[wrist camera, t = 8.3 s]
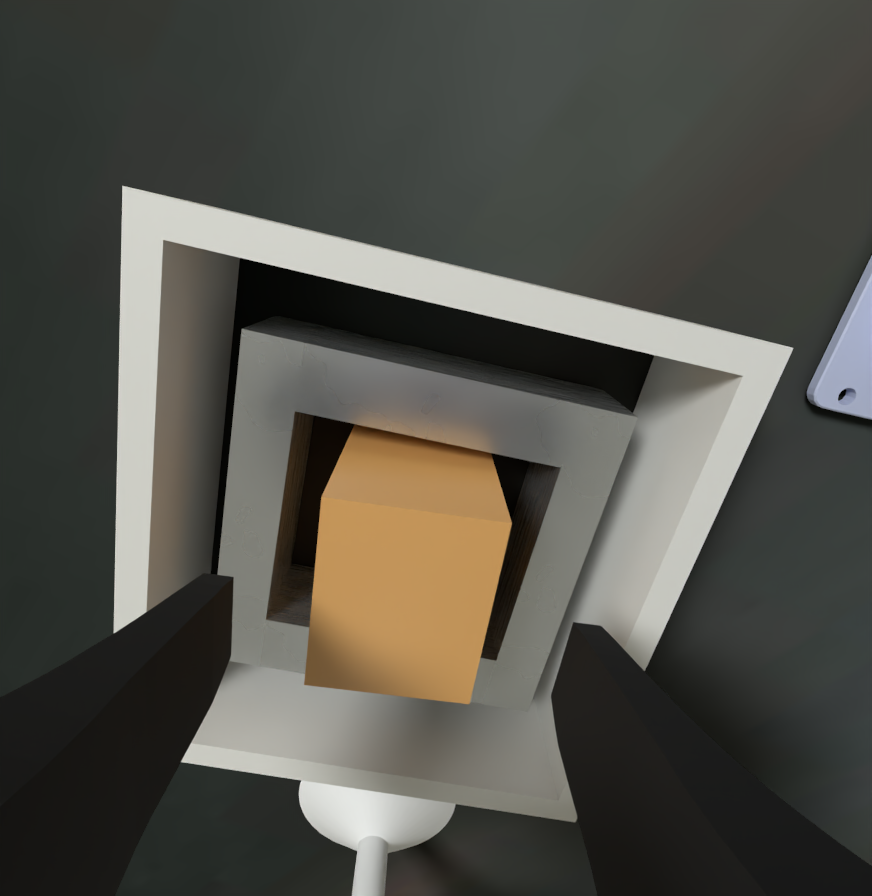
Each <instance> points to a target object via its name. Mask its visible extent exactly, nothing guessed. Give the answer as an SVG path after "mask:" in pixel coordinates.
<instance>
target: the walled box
mask: <svg viewBox="0 0 872 896" xmlns="http://www.w3.org/2000/svg"><path fill="white" fill-rule="evenodd" d="M240 258H243V259H247V260H252V261H256V262H260V263H264V264H269V265H273V266H277V267H281V268H286V269H290V270H294V271H298V272H303V273H307V274H311V275H315V276H320V277H324V278H328V279H332V280H337V281H341V282H345V283H349V284H354V285H358V286H362V287H367V288H371V289H375V290H379V291H384V292H388V293H392V294H396V295H401V296H405V297H409V298H413V299H418V300H422V301H426V302H430V303H435V304H439V305H443V306H447V307H452V308H456V309H460V310H464V311H469V312H473V313H477V314H481V315H486V316H490V317H494V318H499V319H503V320H507V321H511V322H516V323H520V324H524V325H528V326H533V327H537V328H541V329H545V330H550V331H554V332H558V333H562V334H567V335H571V336H575V337H579V338H584V339H588V340H592V341H596V342H601V343H605V344H609V345H614V346H618V347H622V348H626V349H631V350H635V351H639V352H643V353H648V354H652V355H654V358H653V361H652V363H651V366H650V369H649V371H648V374H647V377H646V379H645V382H644V385H643V388H642V390H641V393H640V396H639V398H638V401H637V404H636V406H635V409H634V412H633V414H634V415H636V416H637V417H638V419H637V422H636V425H635V427H634V430H633V433H632V435H631V438H630V441H629V443H628V446H627V449H626V451H625V454H624V457H623V459H622V462H621V465H620V467H619V470H618V473H617V475H616V478H615V481H614V483H613V486H612V489H611V491H610V494H609V497H608V499H607V502H606V505H605V507H604V510H603V513H602V515H601V518H600V520H599V523H598V526H597V528H596V531H595V534H594V536H593V539H592V542H591V544H590V547H589V550H588V552H587V555H586V558H585V560H584V563H583V566H582V568H581V571H580V574H579V576H578V579H577V582H576V584H575V587H574V590H573V592H572V595H571V598H570V600H569V603H568V606H567V608H566V611H565V614H564V616H563V619H562V622H561V624H560V627H559V630H558V632H557V635H556V638H555V640H554V643H553V646H552V648H551V651H550V654H549V656H548V659H547V662H546V664H545V667H544V670H543V672H542V675H541V678H540V680H539V683H538V685H537V688H536V691H535V693H534V696H533V699H532V701H531V704H530V707H529V709H528V712H525V711H520V710H514V709H508V708H502V707H496V706H490V705H484V704H479V703H473V702H470V704H462V703H454V702H445V701H437V700H428V699H419V698H411V697H402V696H394V695H385V694H377V693H368V692H360V691H351V690H343V689H334V688H326V687H317V686H308V685H304V680H305V674H303V673H297V672H291V671H285V670H279V669H273V668H267V667H261V666H256V665H250V664H244V663H238V662H232V661H229V663H228V665H227V668H226V670H225V673H224V676H223V678H222V681H221V683H220V686H219V688H218V691H217V693H216V695H215V698H214V700H213V703H212V705H211V707H210V709H209V710H208V712H207V714H206V716H205V718H204V720H203V722H202V724H201V726H200V727H199V729H198V731H197V733H196V735H195V737H194V739H193V740H192V742H191V744H190V746H189V748H188V750H187V752H186V753H185V755H184V757H183V759H182V761H181V762H185V763H192V764H198V765H205V766H211V767H218V768H224V769H231V770H237V771H244V772H250V773H257V774H263V775H270V776H276V777H283V778H289V779H296V780H302V781H309V782H316V783H322V784H329V785H335V786H342V787H348V788H355V789H361V790H368V791H374V792H381V793H387V794H394V795H400V796H407V797H413V798H420V799H426V800H433V801H440V802H446V803H453V804H459V805H466V806H472V807H479V808H485V809H492V810H498V811H505V812H511V813H518V814H524V815H531V816H537V817H544V818H550V819H557V820H563V821H570V822H576V820H577V814H576V810H575V806H574V803H573V799H572V795H571V792H570V788H569V785H568V781H567V777H566V773H565V770H564V766H563V762H562V758H561V755H560V751H559V747H558V742H557V736H556V729H555V723H554V716H553V708H552V701H551V693H552V690H553V687H554V683H555V680H556V677H557V673H558V670H559V667H560V664H561V660H562V657H563V654H564V651H565V647H566V644H567V641H568V638H569V634H570V631H571V628H572V624H573V622H577V623H584V624H592V625H600V626H602V627H603V628H604V629H605V630H606V631H607V632H608V633H609V634H610V635H611V636H612V637H613V638H614V639H615V640H616V641H617V642H618V643H619V645H620V646H621V647H622V648H623V649H624V650H625V651H626V652H627V653H628V654H629V655H630V656H631V657H632V658H633V660H634V661H635V662H636V663H637V664H638V665H639V666H640V667H641V668H642V669H643V670H644V671H645V670H646V667H647V665H648V663H649V661H650V659H651V657H652V654H653V652H654V650H655V648H656V646H657V644H658V641H659V639H660V637H661V635H662V633H663V631H664V628H665V626H666V624H667V622H668V620H669V618H670V615H671V613H672V611H673V609H674V607H675V604H676V602H677V600H678V598H679V596H680V594H681V591H682V589H683V587H684V585H685V583H686V581H687V578H688V576H689V574H690V572H691V570H692V568H693V565H694V563H695V561H696V559H697V557H698V554H699V552H700V550H701V548H702V546H703V544H704V541H705V539H706V537H707V535H708V533H709V531H710V528H711V526H712V524H713V522H714V520H715V518H716V515H717V513H718V511H719V509H720V507H721V505H722V502H723V500H724V498H725V496H726V494H727V491H728V489H729V487H730V485H731V483H732V481H733V478H734V476H735V474H736V472H737V470H738V468H739V465H740V463H741V461H742V459H743V457H744V455H745V452H746V450H747V448H748V446H749V444H750V441H751V439H752V437H753V435H754V433H755V431H756V428H757V426H758V424H759V422H760V420H761V418H762V415H763V413H764V411H765V409H766V407H767V405H768V402H769V400H770V398H771V396H772V394H773V391H774V389H775V387H776V385H777V383H778V381H779V378H780V376H781V374H782V372H783V370H784V368H785V365H786V363H787V361H788V359H789V357H790V355H791V352H792V350H793V348H791V347H787V346H783V345H779V344H775V343H771V342H767V341H763V340H759V339H756V338H752V337H748V336H744V335H740V334H736V333H732V332H728V331H724V330H720V329H716V328H712V327H708V326H704V325H700V324H696V323H692V322H688V321H684V320H680V319H676V318H672V317H667V316H663V315H659V314H655V313H651V312H647V311H643V310H639V309H634V308H630V307H626V306H622V305H618V304H614V303H610V302H605V301H601V300H597V299H593V298H589V297H585V296H581V295H577V294H572V293H568V292H564V291H560V290H556V289H552V288H548V287H543V286H539V285H535V284H531V283H527V282H523V281H519V280H515V279H510V278H506V277H502V276H498V275H494V274H490V273H486V272H481V271H477V270H473V269H469V268H465V267H461V266H457V265H453V264H448V263H444V262H440V261H436V260H432V259H428V258H424V257H419V256H415V255H411V254H407V253H403V252H399V251H395V250H391V249H386V248H382V247H378V246H374V245H370V244H366V243H362V242H357V241H353V240H349V239H345V238H341V237H337V236H333V235H329V234H324V233H320V232H316V231H312V230H308V229H304V228H300V227H295V226H291V225H287V224H283V223H279V222H275V221H271V220H267V219H262V218H258V217H254V216H250V215H246V214H242V213H238V212H233V211H229V210H225V209H221V208H217V207H213V206H208V205H204V204H200V203H195V202H191V201H186V200H182V199H178V198H173V197H169V196H165V195H160V194H156V193H151V192H147V191H143V190H138V189H134V188H129V187H125V186H123V191H122V242H121V292H120V343H119V394H118V444H117V495H116V546H115V596H114V633H115V632H117V631H119V630H120V629H122V628H123V627H125V626H126V625H128V624H129V623H131V622H132V621H134V620H135V619H137V618H138V617H140V616H141V615H143V614H144V613H146V612H147V611H149V610H150V609H152V608H153V607H155V606H156V605H158V604H159V603H160V602H162V601H163V600H165V599H166V598H168V597H169V596H171V595H172V594H174V593H175V592H176V591H178V590H179V589H181V588H182V587H184V586H185V585H187V584H188V583H190V582H191V581H193V580H194V579H196V578H197V577H199V576H200V575H202V574H203V573H208V574H211V563H212V552H213V542H214V531H215V520H216V509H217V499H218V488H219V477H220V466H221V456H222V445H223V434H224V423H225V413H226V402H227V391H228V380H229V369H230V359H231V348H232V337H233V326H234V316H235V305H236V294H237V283H238V273H239V262H240Z"/></svg>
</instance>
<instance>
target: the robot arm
mask: <svg viewBox="0 0 872 896" xmlns="http://www.w3.org/2000/svg"><path fill="white" fill-rule="evenodd" d="M844 389H846V395H845V396H844V397H843V399H841V400H840V401H838V396H839V394H840V393H841V391H842V390H844ZM807 398H808V400H809V401H810V403H811V404H814V405H816V406H818V407H821V408H823V409H828V410H832V411H836V412H841V413H845V414H849V415H854V416H858V417H862V418H867V419H871V420H872V256H871V258H870V260H869V262H868V264H867V266H866V268H865V270H864V273H863V275H862V277H861V279H860V281H859V283H858V285H857V287H856V289H855V291H854V293H853V295H852V297H851V299H850V302H849V304H848V306H847V308H846V310H845V312H844V314H843V316H842V318H841V320H840V322H839V324H838V326H837V329H836V331H835V333H834V335H833V337H832V339H831V341H830V343H829V345H828V347H827V349H826V351H825V353H824V355H823V358H822V360H821V362H820V364H819V366H818V368H817V370H816V372H815V374H814V376H813V378H812V380H811V382H810V385H809V387H808V390H807ZM233 582H234V577H230V576H223V575H215V574H208V573H203V574H202V575H200V576H199V577H197V578H196V579H194V580H193V581H191V582H190V583H188V584H187V585H185V586H184V587H182V588H181V589H179V590H178V591H176V592H175V593H174V594H172V595H171V596H169V597H168V598H166V599H165V600H163V601H162V602H160V603H159V604H158V605H156V606H155V607H153V608H152V609H150V610H149V611H147V612H146V613H144V614H143V615H141V616H140V617H138V618H137V619H135V620H134V621H132V622H131V623H129V624H128V625H126V626H125V627H123V628H122V629H120V630H119V631H117V632H115V633H114V634H112V635H111V636H109V637H107V638H106V639H104V640H102V641H101V642H99V643H97V644H96V645H94V646H92V647H91V648H89V649H87V650H86V651H84V652H82V653H81V654H79V655H78V656H76V657H74V658H73V659H71V660H69V661H68V662H66V663H64V664H62V665H61V666H59V667H57V668H55V669H54V670H52V671H50V672H48V673H46V674H44V675H43V676H41V677H39V678H37V679H35V680H33V681H32V682H30V683H28V684H26V685H24V686H22V687H20V688H18V689H16V690H14V691H12V692H10V693H8V694H6V695H4V696H2V697H0V896H115V894H116V892H117V889H118V887H119V885H120V882H121V880H122V878H123V876H124V873H125V871H126V869H127V867H128V864H129V862H130V860H131V857H132V855H133V853H134V851H135V848H136V846H137V844H138V842H139V840H140V838H141V836H142V834H143V832H144V830H145V828H146V826H147V824H148V822H149V820H150V818H151V816H152V814H153V812H154V810H155V809H156V807H157V805H158V803H159V801H160V799H161V798H162V796H163V794H164V792H165V790H166V788H167V786H168V785H169V783H170V781H171V779H172V777H173V775H174V774H175V772H176V770H177V768H178V766H179V764H180V763H181V761H182V759H183V757H184V755H185V753H186V752H187V750H188V748H189V746H190V744H191V742H192V740H193V739H194V737H195V735H196V733H197V731H198V729H199V727H200V726H201V724H202V722H203V720H204V718H205V716H206V714H207V712H208V710H209V709H210V707H211V705H212V703H213V700H214V698H215V695H216V693H217V691H218V688H219V686H220V683H221V681H222V678H223V676H224V673H225V670H226V668H227V665H228V663H229V660H230V658H231V646H232V614H233ZM551 701H552V708H553V716H554V723H555V729H556V736H557V742H558V747H559V751H560V755H561V758H562V762H563V766H564V770H565V773H566V777H567V781H568V785H569V788H570V792H571V795H572V799H573V803H574V806H575V810H576V814H577V817H578V821H579V825H580V828H581V832H582V835H583V839H584V843H585V846H586V850H587V854H588V857H589V861H590V865H591V869H592V873H593V877H594V882H595V886H596V890H597V895H598V896H872V866H871V865H869V864H868V863H866V862H865V861H864V860H862V859H861V858H859V857H858V856H857V855H855V854H854V853H852V852H851V851H849V850H848V849H847V848H845V847H844V846H842V845H841V844H840V843H838V842H837V841H836V840H834V839H833V838H832V837H830V836H829V835H828V834H826V833H825V832H824V831H822V830H821V829H820V828H818V827H817V826H816V825H814V824H813V823H812V822H810V821H809V820H808V819H806V818H805V817H804V816H802V815H801V814H800V813H798V812H797V811H796V810H795V809H793V808H792V807H791V806H790V805H788V804H787V803H786V802H784V801H783V800H782V799H781V798H779V797H778V796H777V795H776V794H775V793H773V792H772V791H771V790H770V789H769V788H767V787H766V786H765V785H764V784H763V783H761V782H760V781H759V780H758V779H757V778H755V777H754V776H753V775H752V774H751V773H750V772H748V771H747V770H746V769H745V768H744V767H742V766H741V765H740V764H739V763H738V762H737V761H736V760H734V759H733V758H732V757H731V756H730V755H729V754H728V753H727V752H725V751H724V750H723V749H722V748H721V747H720V746H719V745H718V744H717V743H716V742H715V741H714V740H713V739H711V738H710V737H709V736H708V735H707V734H706V733H705V732H704V731H703V730H702V729H701V728H700V727H699V726H698V725H697V724H696V723H695V722H693V721H692V720H691V719H690V718H689V717H688V716H687V715H686V714H685V713H684V712H683V711H682V710H681V709H680V708H679V707H678V706H677V705H676V704H675V703H674V702H673V701H672V700H671V699H670V697H669V696H668V695H667V694H666V693H665V692H664V691H663V690H662V689H661V688H660V687H659V686H658V685H657V684H656V683H655V682H654V681H653V680H652V679H651V678H650V677H649V676H648V675H647V673H646V672H645V671H644V670H643V669H642V668H641V667H640V666H639V665H638V664H637V663H636V662H635V661H634V660H633V658H632V657H631V656H630V655H629V654H628V653H627V652H626V651H625V650H624V649H623V648H622V647H621V646H620V645H619V643H618V642H617V641H616V640H615V639H614V638H613V637H612V636H611V635H610V634H609V633H608V632H607V631H606V630H605V629H604V628H603V627H602V626H600V625H592V624H584V623H577V622H573V624H572V628H571V631H570V634H569V638H568V641H567V644H566V647H565V651H564V654H563V657H562V660H561V664H560V667H559V670H558V673H557V677H556V680H555V683H554V687H553V690H552V693H551Z"/></svg>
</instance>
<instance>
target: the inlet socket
mask: <svg viewBox="0 0 872 896" xmlns="http://www.w3.org/2000/svg"><path fill="white" fill-rule="evenodd" d="M314 415H315V416H319V417H324V418H329V419H334V420H338V421H343V422H348V423H352V424H357V425H362V426H367V427H371V428H376V429H381V430H385V431H390V432H395V433H400V434H404V435H409V436H414V437H418V438H423V439H428V440H433V441H437V442H442V443H447V444H451V445H456V446H461V447H466V448H470V449H475V450H480V451H484V452H489V453H494V454H498V455H503V456H508V457H513V458H517V459H522V460H527V461H530V462H529V465H528V468H527V472H526V475H525V478H524V481H523V485H522V488H521V491H520V494H519V497H518V501H517V504H516V507H515V510H514V513H513V517H512V520H511V522H512V525H511V530H510V534H509V538H508V542H507V547H506V551H505V555H504V559H503V564H502V568H501V572H500V576H499V581H498V585H497V589H496V593H495V598H494V602H493V606H492V610H491V615H490V619H489V623H488V627H487V632H486V636H485V640H484V644H483V649H482V653H481V657H480V661H479V666H478V670H477V674H476V678H475V683H474V687H473V691H472V695H471V700H470V702H473V703H479V704H484V705H490V706H496V707H502V708H508V709H514V710H520V711H525V712H528V709H529V707H530V704H531V701H532V699H533V696H534V693H535V691H536V688H537V685H538V683H539V680H540V678H541V675H542V672H543V670H544V667H545V664H546V662H547V659H548V656H549V654H550V651H551V648H552V646H553V643H554V640H555V638H556V635H557V632H558V630H559V627H560V624H561V622H562V619H563V616H564V614H565V611H566V608H567V606H568V603H569V600H570V598H571V595H572V592H573V590H574V587H575V584H576V582H577V579H578V576H579V574H580V571H581V568H582V566H583V563H584V560H585V558H586V555H587V552H588V550H589V547H590V544H591V542H592V539H593V536H594V534H595V531H596V528H597V526H598V523H599V520H600V518H601V515H602V513H603V510H604V507H605V505H606V502H607V499H608V497H609V494H610V491H611V489H612V486H613V483H614V481H615V478H616V475H617V473H618V470H619V467H620V465H621V462H622V459H623V457H624V454H625V451H626V449H627V446H628V443H629V441H630V438H631V435H632V433H633V430H634V427H635V425H636V422H637V419H638V417H637V416H636V415H634V414H633V413H632V412H631V411H629V410H628V409H627V408H625V407H624V406H623V405H622V404H620V403H619V402H618V401H616V400H615V399H614V398H613V397H611V396H610V395H609V394H608V393H606V392H605V391H604V390H602V389H599V388H594V387H590V386H586V385H581V384H577V383H572V382H568V381H564V380H559V379H555V378H550V377H546V376H542V375H537V374H533V373H528V372H524V371H520V370H515V369H511V368H506V367H502V366H498V365H493V364H489V363H484V362H480V361H476V360H471V359H467V358H462V357H458V356H454V355H449V354H445V353H440V352H436V351H431V350H427V349H423V348H418V347H414V346H409V345H405V344H401V343H396V342H392V341H387V340H383V339H379V338H374V337H370V336H365V335H361V334H357V333H352V332H348V331H343V330H339V329H335V328H330V327H326V326H321V325H317V324H313V323H308V322H304V321H299V320H295V319H291V318H286V317H282V316H274V317H271V318H269V319H266V320H263V321H261V322H258V323H256V324H253V325H250V326H248V327H245V328H242V331H241V341H240V351H239V361H238V371H237V381H236V392H235V402H234V412H233V422H232V432H231V442H230V453H229V463H228V473H227V483H226V493H225V503H224V514H223V524H222V534H221V544H220V554H219V564H218V575H223V576H230V577H234V582H233V614H232V646H231V658H230V660H229V661H232V662H238V663H244V664H250V665H256V666H261V667H267V668H273V669H279V670H285V671H291V672H297V673H303V674H305V669H306V659H307V648H308V637H309V626H310V615H311V604H312V594H313V583H314V572H315V568H314V567H309V566H304V565H298V564H293V563H292V557H293V550H294V544H295V537H296V531H297V524H298V518H299V511H300V505H301V498H302V492H303V485H304V479H305V472H306V466H307V459H308V453H309V446H310V440H311V433H312V427H313V420H314Z"/></svg>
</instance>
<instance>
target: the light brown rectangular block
mask: <svg viewBox="0 0 872 896" xmlns="http://www.w3.org/2000/svg"><path fill="white" fill-rule="evenodd" d="M511 525H512V522H511V518H510V515H509V512H508V508H507V505H506V502H505V498H504V495H503V492H502V488H501V485H500V482H499V478H498V475H497V472H496V468H495V465H494V462H493V458H492V455H491V453H489V452H484V451H480V450H475V449H470V448H466V447H461V446H456V445H451V444H447V443H442V442H437V441H433V440H428V439H423V438H418V437H414V436H409V435H404V434H400V433H395V432H390V431H385V430H381V429H376V428H371V427H367V426H362V425H357V424H355V425H354V427H353V429H352V431H351V434H350V436H349V438H348V440H347V442H346V444H345V447H344V449H343V451H342V453H341V455H340V457H339V460H338V462H337V464H336V466H335V468H334V471H333V473H332V475H331V477H330V479H329V481H328V484H327V486H326V488H325V490H324V492H323V495H322V497H321V507H320V518H319V529H318V539H317V550H316V561H315V572H314V583H313V594H312V604H311V615H310V626H309V637H308V648H307V659H306V669H305V680H304V685H308V686H317V687H326V688H334V689H343V690H351V691H360V692H368V693H377V694H385V695H394V696H402V697H411V698H419V699H428V700H437V701H445V702H454V703H462V704H470V700H471V695H472V691H473V687H474V683H475V678H476V674H477V670H478V666H479V661H480V657H481V653H482V649H483V644H484V640H485V636H486V632H487V627H488V623H489V619H490V615H491V610H492V606H493V602H494V598H495V593H496V589H497V585H498V581H499V576H500V572H501V568H502V564H503V559H504V555H505V551H506V547H507V542H508V538H509V534H510V530H511Z"/></svg>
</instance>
